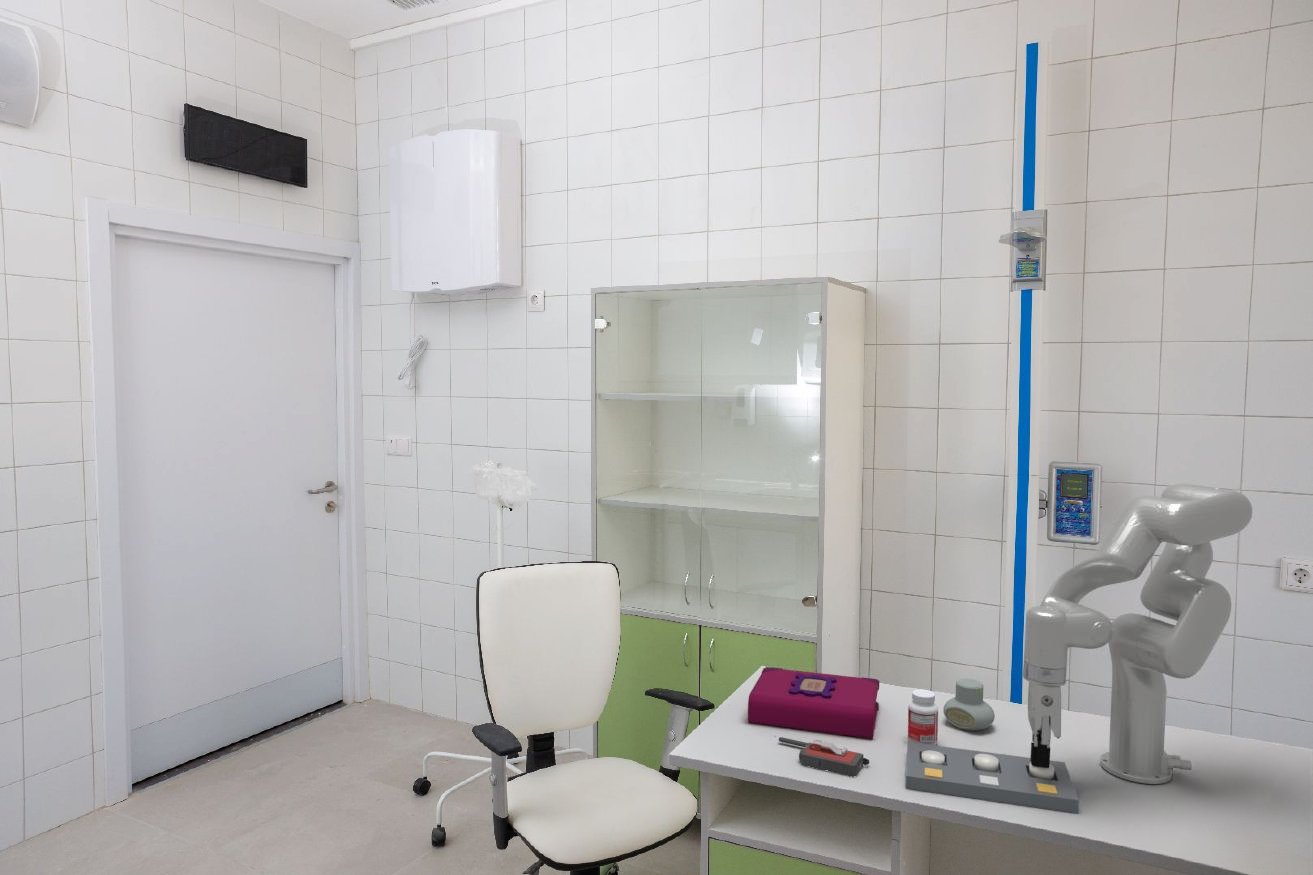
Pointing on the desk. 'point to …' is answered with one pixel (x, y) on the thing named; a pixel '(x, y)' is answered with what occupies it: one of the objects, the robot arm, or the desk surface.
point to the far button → (933, 757)
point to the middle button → (986, 762)
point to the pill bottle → (923, 718)
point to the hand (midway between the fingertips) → (1039, 764)
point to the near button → (1041, 772)
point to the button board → (990, 779)
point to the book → (815, 702)
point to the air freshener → (969, 706)
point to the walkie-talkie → (829, 757)
